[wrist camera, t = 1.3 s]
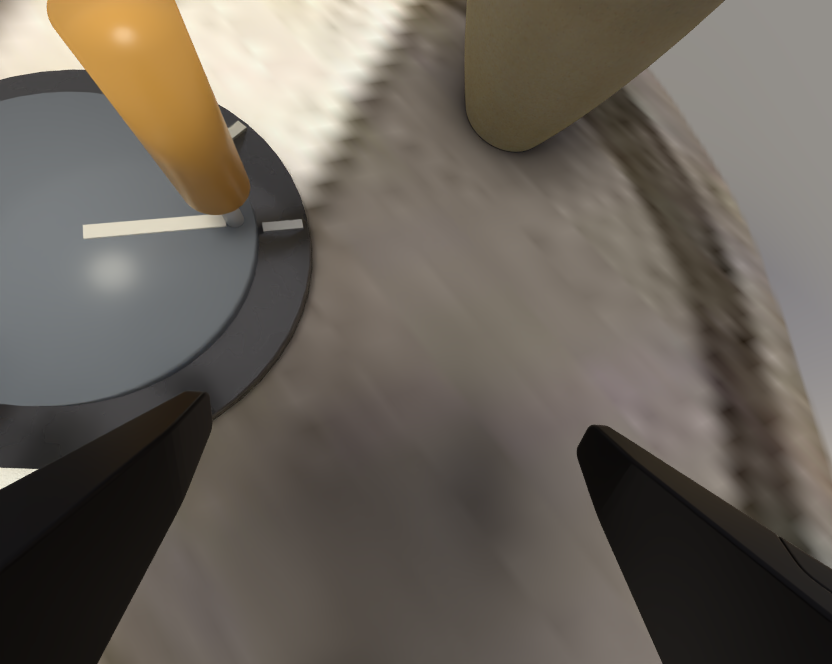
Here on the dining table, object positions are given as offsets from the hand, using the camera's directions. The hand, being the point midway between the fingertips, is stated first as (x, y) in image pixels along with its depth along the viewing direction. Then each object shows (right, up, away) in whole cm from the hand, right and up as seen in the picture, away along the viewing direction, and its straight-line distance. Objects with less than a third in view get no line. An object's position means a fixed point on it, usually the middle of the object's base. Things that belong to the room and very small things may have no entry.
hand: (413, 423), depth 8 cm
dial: (-18, +7, +12) cm, 23 cm away
